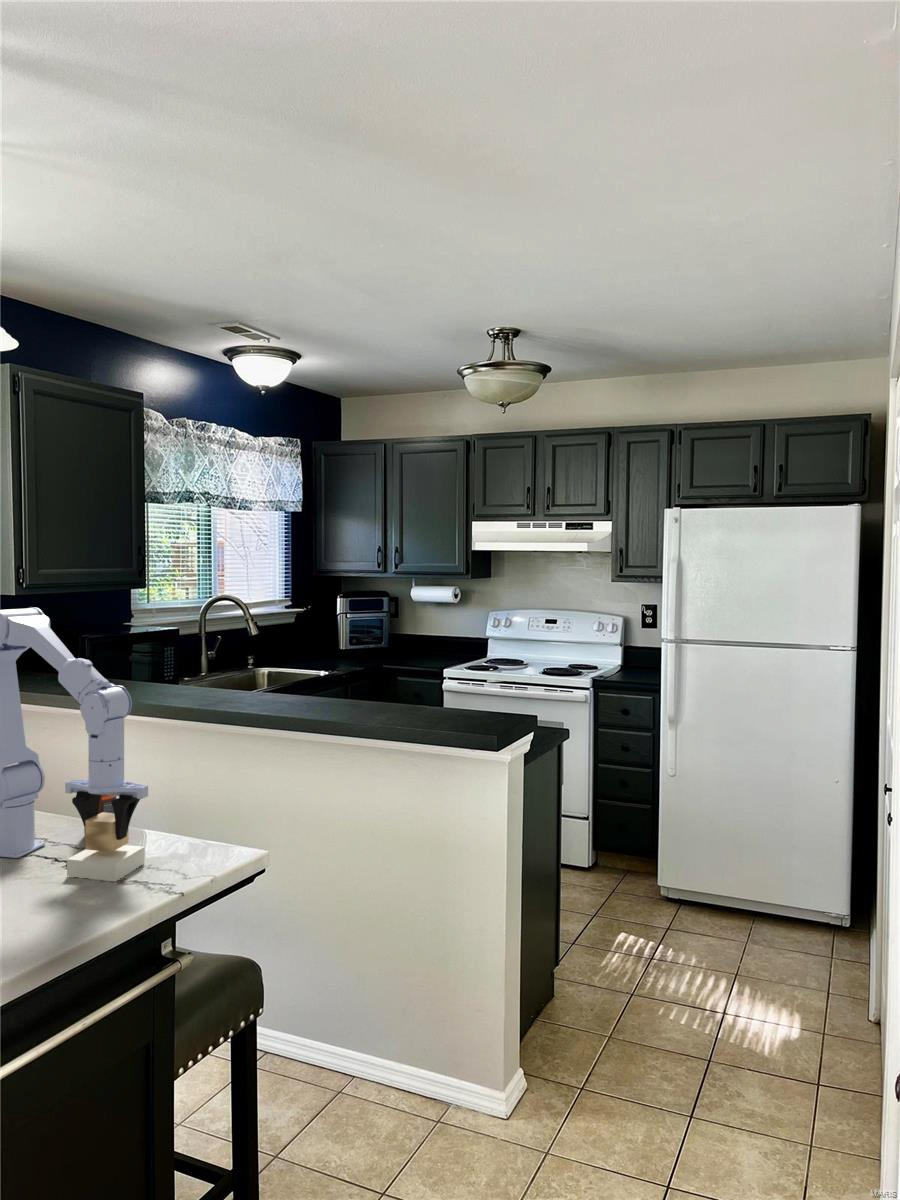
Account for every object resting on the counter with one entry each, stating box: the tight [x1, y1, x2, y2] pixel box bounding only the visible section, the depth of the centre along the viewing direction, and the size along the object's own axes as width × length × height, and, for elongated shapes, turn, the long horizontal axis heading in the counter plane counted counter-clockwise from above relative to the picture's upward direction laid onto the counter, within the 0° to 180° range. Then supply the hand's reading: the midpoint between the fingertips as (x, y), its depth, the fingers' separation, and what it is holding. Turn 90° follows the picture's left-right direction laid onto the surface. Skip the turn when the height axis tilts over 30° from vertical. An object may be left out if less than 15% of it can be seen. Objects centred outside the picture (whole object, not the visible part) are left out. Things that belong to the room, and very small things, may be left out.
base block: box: [66, 844, 146, 883], centre depth 154 cm, size 9×9×3 cm
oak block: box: [84, 812, 130, 852], centre depth 154 cm, size 5×5×5 cm
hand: (106, 836), depth 154 cm, fingers closed on oak block, 5 cm apart
